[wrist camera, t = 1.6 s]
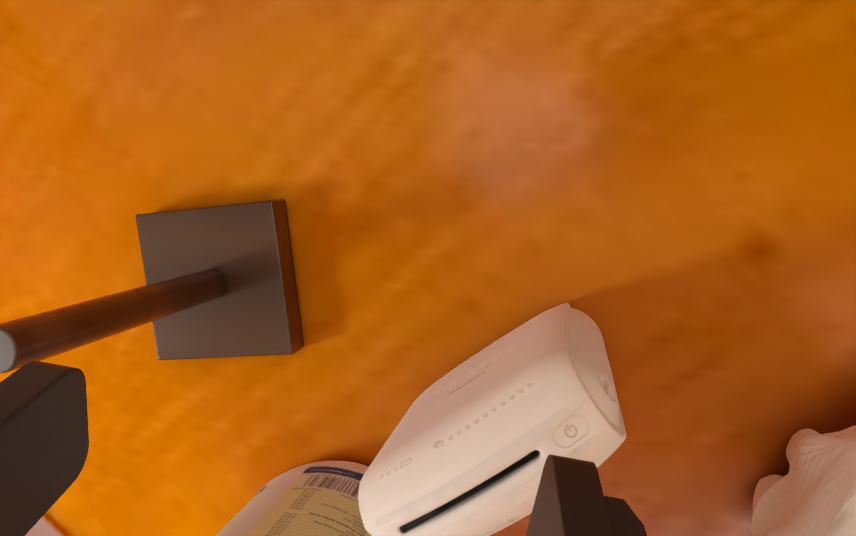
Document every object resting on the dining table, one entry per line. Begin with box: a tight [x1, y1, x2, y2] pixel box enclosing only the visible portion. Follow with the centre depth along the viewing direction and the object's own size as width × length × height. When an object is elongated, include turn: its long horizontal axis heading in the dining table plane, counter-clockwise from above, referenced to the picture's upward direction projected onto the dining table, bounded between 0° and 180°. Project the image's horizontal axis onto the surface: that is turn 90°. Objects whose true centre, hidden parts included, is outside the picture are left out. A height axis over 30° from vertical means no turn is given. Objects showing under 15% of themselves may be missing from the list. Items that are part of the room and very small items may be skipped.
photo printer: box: [358, 303, 626, 536], centre depth 26 cm, size 10×4×12 cm, turn 126°
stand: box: [0, 199, 304, 373], centre depth 28 cm, size 8×8×14 cm
